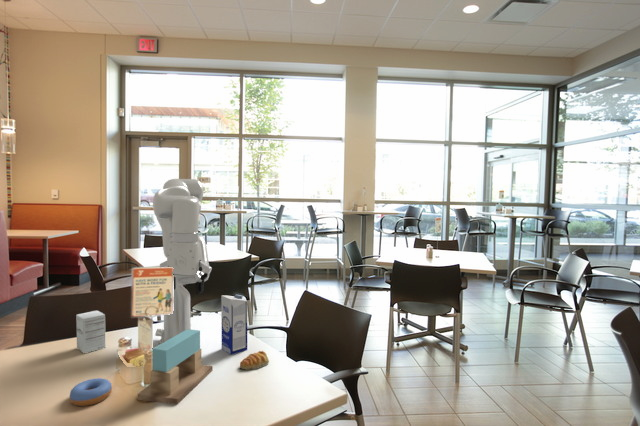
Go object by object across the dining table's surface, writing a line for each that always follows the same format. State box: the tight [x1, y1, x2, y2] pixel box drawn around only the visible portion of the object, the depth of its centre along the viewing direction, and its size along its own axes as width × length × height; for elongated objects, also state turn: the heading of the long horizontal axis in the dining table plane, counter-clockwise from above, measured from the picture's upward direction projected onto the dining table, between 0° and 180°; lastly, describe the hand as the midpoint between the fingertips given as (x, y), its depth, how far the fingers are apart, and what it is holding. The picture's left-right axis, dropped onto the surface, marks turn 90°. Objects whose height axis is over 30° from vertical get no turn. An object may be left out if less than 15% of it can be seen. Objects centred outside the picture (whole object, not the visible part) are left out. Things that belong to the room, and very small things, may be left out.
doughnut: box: [69, 377, 113, 407], centre depth 104 cm, size 10×10×5 cm
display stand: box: [137, 347, 214, 405], centre depth 112 cm, size 12×20×8 cm, turn 169°
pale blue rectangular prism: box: [151, 329, 201, 372], centre depth 112 cm, size 4×16×6 cm, turn 164°
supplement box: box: [75, 310, 107, 354], centre depth 137 cm, size 7×7×13 cm
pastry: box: [239, 350, 270, 371], centre depth 125 cm, size 9×7×4 cm
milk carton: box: [220, 294, 248, 355], centre depth 137 cm, size 7×7×20 cm
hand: (185, 291), depth 118 cm, fingers open, 9 cm apart
